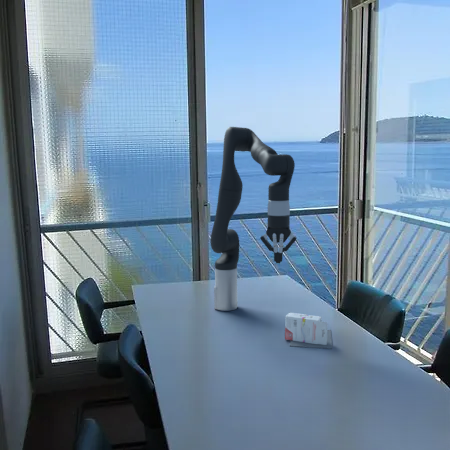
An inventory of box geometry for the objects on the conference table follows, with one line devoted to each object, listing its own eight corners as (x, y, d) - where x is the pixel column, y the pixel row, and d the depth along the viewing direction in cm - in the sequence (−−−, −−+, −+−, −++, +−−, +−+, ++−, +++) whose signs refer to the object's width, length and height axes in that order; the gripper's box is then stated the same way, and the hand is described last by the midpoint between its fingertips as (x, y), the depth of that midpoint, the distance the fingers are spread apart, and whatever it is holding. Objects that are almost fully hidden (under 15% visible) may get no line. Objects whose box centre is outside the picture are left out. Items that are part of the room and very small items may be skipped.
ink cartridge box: (288, 334, 178) (330, 341, 172) (284, 339, 174) (326, 346, 167) (289, 311, 177) (330, 317, 171) (285, 315, 172) (327, 322, 166)
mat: (289, 346, 168) (289, 345, 168) (292, 328, 185) (292, 328, 185) (332, 348, 166) (332, 347, 166) (330, 330, 182) (330, 329, 182)
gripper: (258, 214, 169) (258, 264, 171) (297, 215, 166) (297, 266, 169) (260, 211, 176) (260, 260, 178) (298, 212, 174) (297, 261, 176)
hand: (278, 262), depth 174 cm, fingers closed
